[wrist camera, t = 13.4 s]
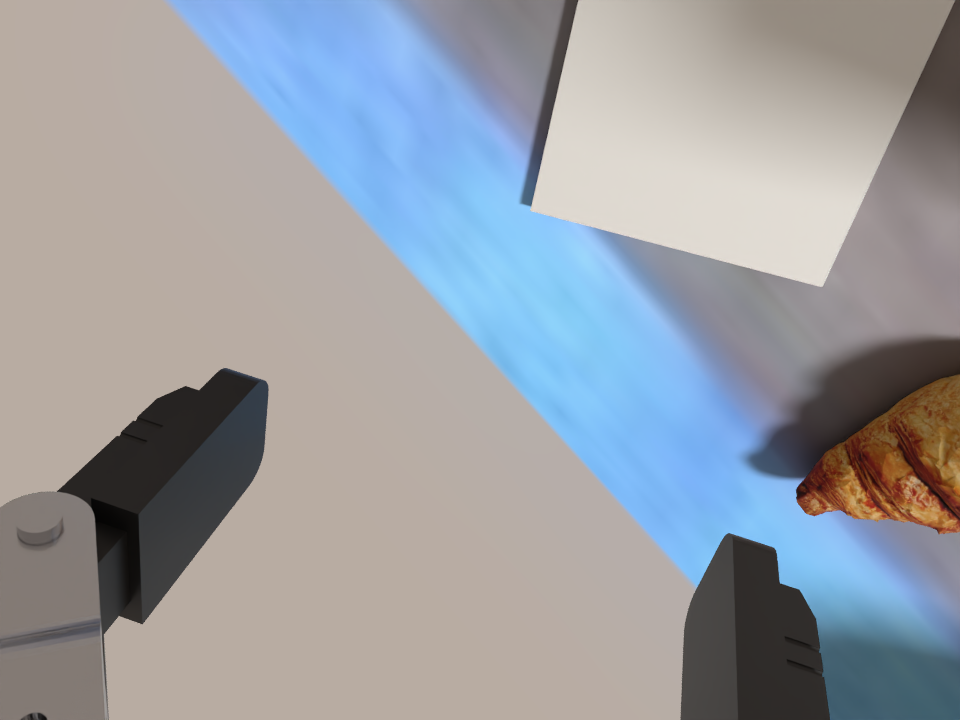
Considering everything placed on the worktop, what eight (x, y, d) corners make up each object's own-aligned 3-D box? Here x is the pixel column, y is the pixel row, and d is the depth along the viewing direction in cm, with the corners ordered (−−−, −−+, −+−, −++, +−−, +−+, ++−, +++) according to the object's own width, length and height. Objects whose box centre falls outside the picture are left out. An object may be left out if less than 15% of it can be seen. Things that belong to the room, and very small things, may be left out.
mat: (971, -45, 35) (975, -44, 34) (820, 282, 43) (822, 287, 43) (607, -124, 36) (606, -124, 36) (532, 207, 45) (530, 210, 44)
